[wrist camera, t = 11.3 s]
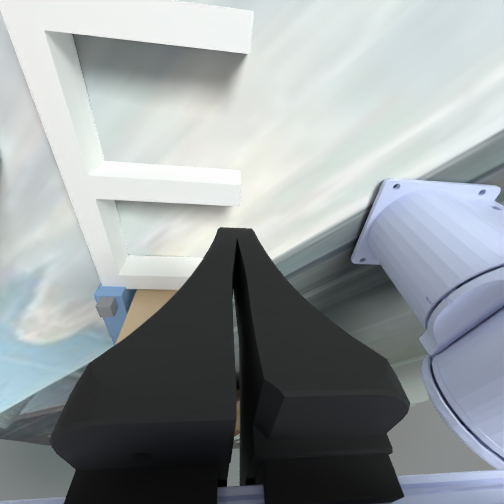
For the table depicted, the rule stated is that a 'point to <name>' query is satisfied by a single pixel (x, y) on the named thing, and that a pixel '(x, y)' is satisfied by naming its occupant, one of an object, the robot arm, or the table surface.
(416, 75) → the table surface
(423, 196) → the robot arm
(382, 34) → the table surface
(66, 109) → the white frame
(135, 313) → the beige tall block
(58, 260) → the table surface
